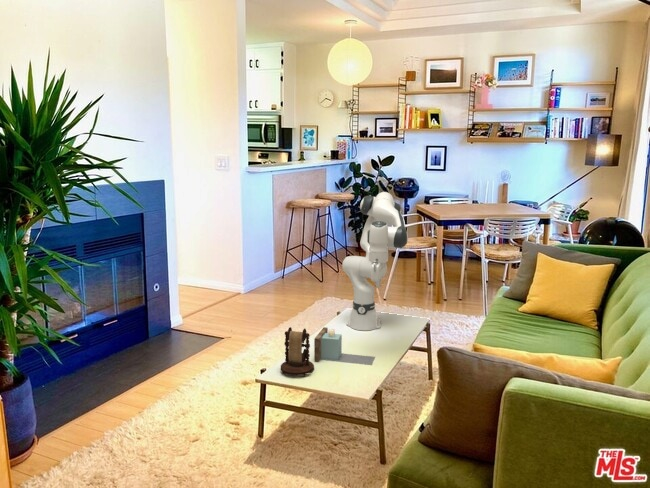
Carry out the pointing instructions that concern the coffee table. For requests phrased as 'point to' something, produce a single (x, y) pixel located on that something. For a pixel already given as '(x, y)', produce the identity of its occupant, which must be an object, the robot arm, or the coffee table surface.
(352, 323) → the robot arm
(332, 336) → the dowel block
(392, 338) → the coffee table surface
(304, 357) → the scroll
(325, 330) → the backstop wall
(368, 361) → the grey flat rectangular plate
